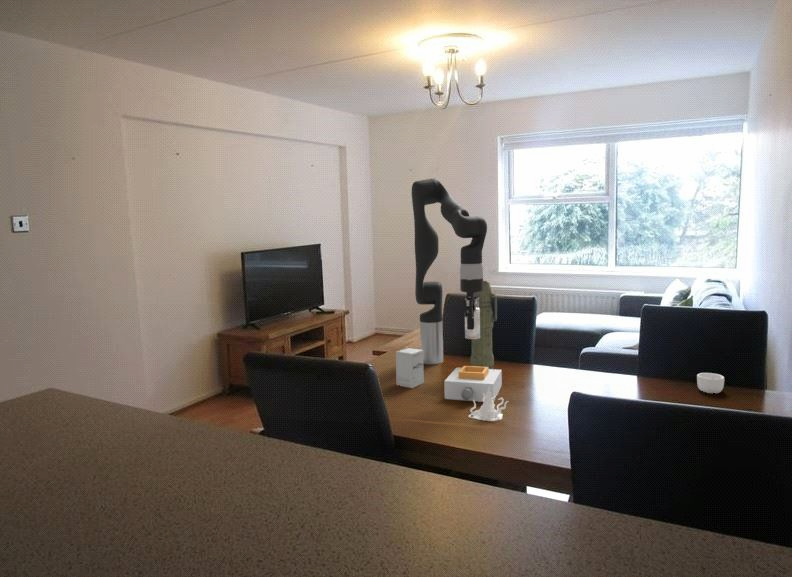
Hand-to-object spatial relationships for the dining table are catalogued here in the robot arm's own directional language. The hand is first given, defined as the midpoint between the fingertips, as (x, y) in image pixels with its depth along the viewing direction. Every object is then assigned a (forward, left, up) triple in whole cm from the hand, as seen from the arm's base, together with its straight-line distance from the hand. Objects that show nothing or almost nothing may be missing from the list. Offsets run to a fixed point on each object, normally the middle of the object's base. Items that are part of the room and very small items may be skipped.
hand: (472, 327), depth 184 cm
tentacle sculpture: (+22, +9, -23) cm, 33 cm away
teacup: (-19, +74, -23) cm, 80 cm away
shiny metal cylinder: (0, 0, -3) cm, 3 cm away
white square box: (0, 0, -22) cm, 22 cm away
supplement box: (-4, -24, -23) cm, 33 cm away
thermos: (-27, -2, -23) cm, 35 cm away
